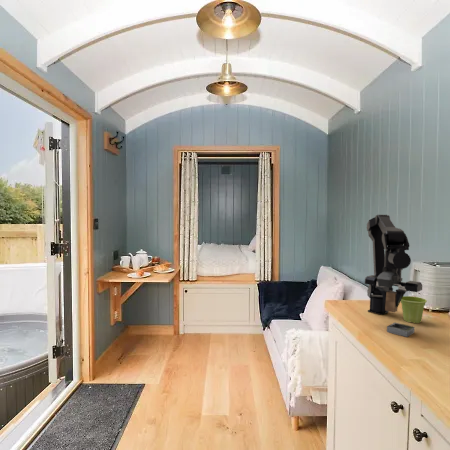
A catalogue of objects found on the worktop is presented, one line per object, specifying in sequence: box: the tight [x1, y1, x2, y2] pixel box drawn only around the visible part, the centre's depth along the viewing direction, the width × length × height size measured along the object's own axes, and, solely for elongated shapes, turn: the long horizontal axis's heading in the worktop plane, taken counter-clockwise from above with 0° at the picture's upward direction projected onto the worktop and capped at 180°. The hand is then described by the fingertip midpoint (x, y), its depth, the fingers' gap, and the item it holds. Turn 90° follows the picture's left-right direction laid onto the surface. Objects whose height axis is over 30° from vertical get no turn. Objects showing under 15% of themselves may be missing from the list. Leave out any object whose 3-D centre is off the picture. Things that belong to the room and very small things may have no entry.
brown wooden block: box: [385, 290, 399, 313], centre depth 132 cm, size 3×3×7 cm
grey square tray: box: [386, 321, 415, 338], centre depth 126 cm, size 7×7×2 cm
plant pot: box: [400, 295, 428, 324], centre depth 139 cm, size 9×9×9 cm
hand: (391, 306), depth 132 cm, fingers closed on brown wooden block, 3 cm apart
